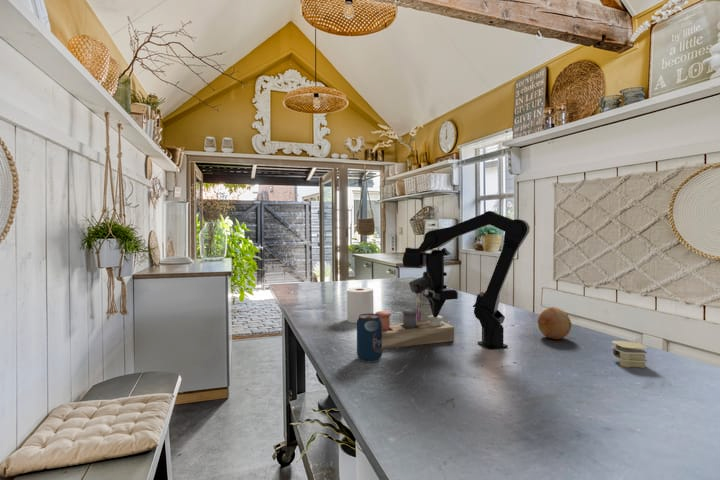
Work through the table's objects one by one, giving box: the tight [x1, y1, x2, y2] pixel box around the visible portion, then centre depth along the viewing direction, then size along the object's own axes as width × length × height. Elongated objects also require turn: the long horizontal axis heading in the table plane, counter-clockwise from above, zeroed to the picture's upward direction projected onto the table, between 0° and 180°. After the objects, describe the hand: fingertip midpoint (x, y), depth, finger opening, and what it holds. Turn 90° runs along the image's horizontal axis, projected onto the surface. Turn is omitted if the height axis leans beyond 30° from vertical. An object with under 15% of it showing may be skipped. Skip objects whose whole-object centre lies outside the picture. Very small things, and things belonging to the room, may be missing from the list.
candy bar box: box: [415, 290, 433, 321], centre depth 142 cm, size 11×5×16 cm, turn 179°
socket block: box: [382, 320, 455, 350], centre depth 124 cm, size 10×26×4 cm, turn 107°
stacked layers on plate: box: [610, 340, 648, 369], centre depth 102 cm, size 10×9×6 cm
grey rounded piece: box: [401, 308, 417, 329], centre depth 124 cm, size 5×5×6 cm
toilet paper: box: [346, 287, 374, 324], centre depth 151 cm, size 10×10×12 cm
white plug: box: [428, 314, 444, 326], centre depth 127 cm, size 5×5×6 cm
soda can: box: [356, 313, 383, 363], centre depth 108 cm, size 7×7×12 cm
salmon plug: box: [374, 310, 392, 331], centre depth 122 cm, size 5×5×6 cm
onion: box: [537, 306, 572, 340], centre depth 125 cm, size 10×10×10 cm
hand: (435, 316), depth 127 cm, fingers closed, pressing on white plug
